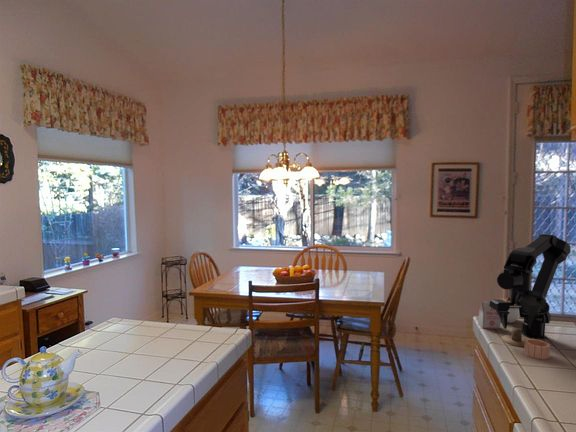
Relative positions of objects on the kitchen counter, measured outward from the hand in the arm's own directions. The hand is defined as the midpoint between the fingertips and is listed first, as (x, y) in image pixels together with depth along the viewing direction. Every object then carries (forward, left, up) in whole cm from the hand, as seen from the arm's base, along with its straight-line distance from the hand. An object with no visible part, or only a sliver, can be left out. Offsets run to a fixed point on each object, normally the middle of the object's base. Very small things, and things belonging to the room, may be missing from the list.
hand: (517, 328), depth 138 cm
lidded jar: (-10, -23, -5) cm, 26 cm away
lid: (0, 0, -5) cm, 5 cm away
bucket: (0, +11, -5) cm, 12 cm away
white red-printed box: (+2, -15, -5) cm, 16 cm away
